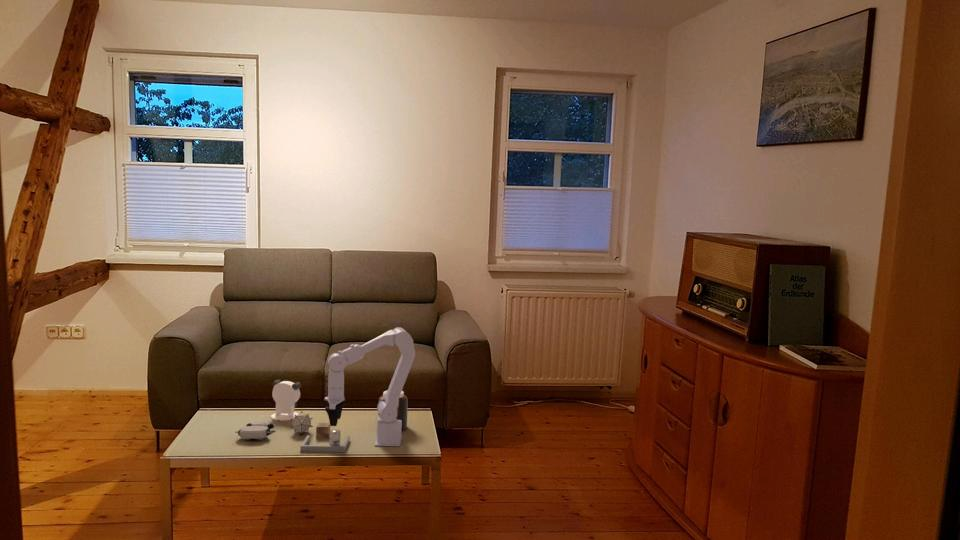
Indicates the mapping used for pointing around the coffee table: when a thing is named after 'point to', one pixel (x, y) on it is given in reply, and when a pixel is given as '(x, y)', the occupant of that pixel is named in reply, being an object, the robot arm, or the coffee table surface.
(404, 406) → the jar
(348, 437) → the parts pen
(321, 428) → the walnut block
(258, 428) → the robot toy
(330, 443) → the silver cylinder
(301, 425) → the game die
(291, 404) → the panda figurine
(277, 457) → the coffee table surface
